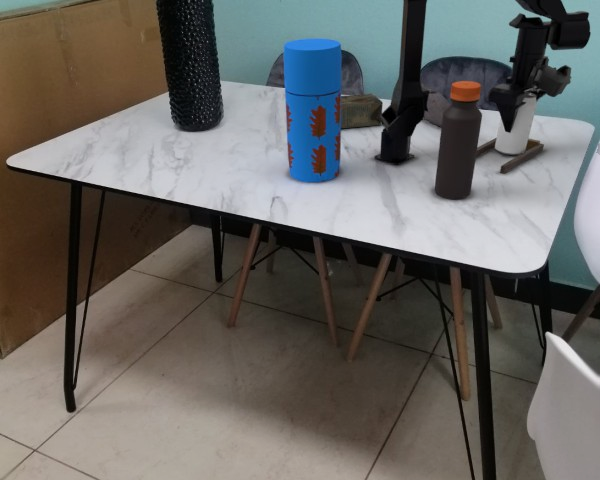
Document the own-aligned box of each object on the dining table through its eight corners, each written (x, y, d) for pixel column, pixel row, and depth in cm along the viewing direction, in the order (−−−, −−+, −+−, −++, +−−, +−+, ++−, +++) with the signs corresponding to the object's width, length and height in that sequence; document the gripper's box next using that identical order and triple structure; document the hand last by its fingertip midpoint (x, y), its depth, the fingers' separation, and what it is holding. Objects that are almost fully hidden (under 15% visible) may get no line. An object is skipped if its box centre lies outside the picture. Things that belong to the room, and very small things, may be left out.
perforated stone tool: (458, 130, 138) (462, 101, 134) (438, 133, 137) (441, 103, 133) (431, 112, 150) (434, 85, 146) (413, 115, 149) (415, 87, 145)
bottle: (477, 191, 109) (494, 83, 98) (458, 203, 106) (473, 92, 94) (446, 182, 113) (459, 77, 102) (427, 193, 110) (438, 85, 98)
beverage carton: (383, 125, 143) (384, 98, 139) (308, 133, 140) (307, 106, 136) (373, 116, 149) (374, 90, 145) (301, 123, 146) (300, 97, 142)
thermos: (347, 166, 122) (350, 40, 107) (328, 185, 114) (328, 52, 99) (301, 160, 126) (297, 37, 111) (279, 178, 118) (272, 48, 103)
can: (518, 157, 122) (533, 99, 115) (489, 150, 125) (502, 94, 119) (528, 150, 126) (543, 94, 120) (500, 144, 130) (512, 89, 123)
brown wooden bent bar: (504, 173, 116) (506, 164, 115) (461, 161, 122) (462, 152, 121) (542, 150, 126) (544, 141, 125) (501, 140, 132) (502, 132, 130)
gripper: (547, 66, 104) (530, 149, 113) (589, 48, 115) (570, 125, 124) (492, 57, 111) (480, 136, 120) (537, 41, 121) (522, 115, 130)
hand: (515, 128), depth 123 cm, fingers closed on can, 6 cm apart
